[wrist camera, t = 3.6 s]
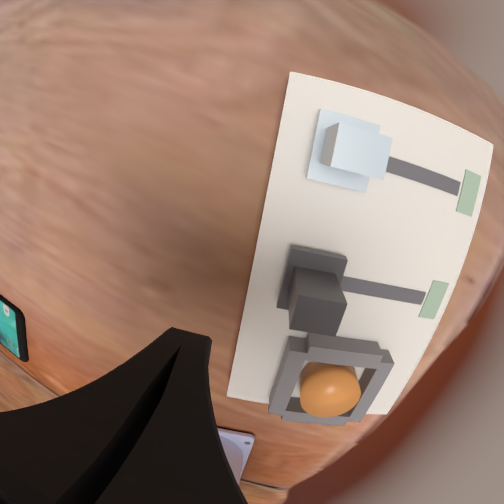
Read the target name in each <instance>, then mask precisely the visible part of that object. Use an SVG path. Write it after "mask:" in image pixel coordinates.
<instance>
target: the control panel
mask: <svg viewBox="0 0 504 504" xmlns="http://www.w3.org/2000/svg"><path fill="white" fill-rule="evenodd" d="M320 109H324V110H328V111H332V112H336V113H339V114H343V115H347V116H350V117H354V118H358V119H361V120H364V121H368V122H371V123H374V124H377V125H380V131H379V134H382V135H385V136H388V137H391V138H393V139H392V144H391V149H390V154H389V159H388V163H387V168H386V173H385V177H384V181H382V180H379V179H375V178H372V177H370V178H369V183H368V187H367V191H366V193H365V192H361V191H357V190H353V189H349V188H345V187H341V186H337V185H333V184H329V183H325V182H321V181H316V180H312V179H307V178H306V173H307V168H308V163H309V158H310V153H311V148H312V143H313V138H314V133H315V128H316V123H317V118H318V113H319V110H320ZM492 152H493V144H491V143H489V142H488V141H486V140H484V139H482V138H480V137H478V136H476V135H474V134H473V133H471V132H469V131H467V130H465V129H463V128H460V127H458V126H456V125H454V124H452V123H450V122H448V121H446V120H443V119H441V118H439V117H436V116H434V115H432V114H429V113H427V112H425V111H422V110H420V109H417V108H415V107H412V106H410V105H407V104H404V103H402V102H399V101H396V100H393V99H390V98H387V97H385V96H382V95H379V94H375V93H372V92H369V91H366V90H363V89H359V88H356V87H353V86H349V85H345V84H342V83H338V82H334V81H330V80H326V79H322V78H318V77H313V76H309V75H304V74H300V73H295V72H290V76H289V81H288V86H287V91H286V97H285V102H284V107H283V112H282V117H281V122H280V128H279V133H278V138H277V143H276V148H275V153H274V159H273V164H272V169H271V174H270V179H269V184H268V189H267V194H266V200H265V205H264V210H263V215H262V220H261V225H260V230H259V235H258V240H257V245H256V250H255V256H254V261H253V266H252V271H251V276H250V281H249V286H248V291H247V296H246V301H245V306H244V311H243V316H242V321H241V326H240V331H239V336H238V341H237V346H236V351H235V356H234V361H233V366H232V371H231V376H230V381H229V386H228V391H227V396H228V397H232V398H238V399H243V400H248V401H254V402H260V403H266V404H269V406H268V413H270V414H276V415H282V416H281V420H286V421H294V422H303V423H312V424H324V425H338V426H344V425H345V424H346V422H361V420H362V418H363V417H364V415H365V414H387V413H388V412H389V410H390V409H391V407H392V406H393V404H394V402H395V401H396V399H397V398H398V396H399V395H400V393H401V391H402V390H403V388H404V387H405V385H406V383H407V382H408V380H409V378H410V377H411V375H412V373H413V371H414V370H415V368H416V366H417V364H418V363H419V361H420V359H421V357H422V355H423V353H424V351H425V350H426V348H427V346H428V344H429V342H430V340H431V338H432V336H433V334H434V332H435V330H436V328H437V326H438V324H439V321H440V319H441V317H442V315H443V313H444V311H445V308H446V306H447V304H448V301H449V299H450V297H451V294H452V292H453V289H454V287H455V285H456V282H457V279H458V277H459V274H460V272H461V269H462V266H463V263H464V261H465V258H466V255H467V252H468V249H469V246H470V243H471V240H472V236H473V233H474V230H475V227H476V223H477V220H478V216H479V212H480V208H481V205H482V201H483V196H484V192H485V188H486V183H487V179H488V174H489V169H490V163H491V158H492ZM290 245H295V246H300V247H305V248H310V249H315V250H319V251H324V252H329V253H334V254H339V255H343V256H346V258H347V260H348V262H347V265H346V268H345V272H344V275H343V278H342V281H341V284H340V286H341V289H342V291H343V294H344V296H345V299H346V301H347V307H346V310H345V313H344V315H343V318H342V321H341V324H340V326H339V329H338V331H337V334H336V337H334V336H327V335H321V334H314V333H308V332H302V331H297V330H291V329H289V312H288V310H285V309H280V308H276V307H277V299H278V295H279V291H280V287H281V283H282V279H283V274H284V270H285V266H286V262H287V258H288V253H289V249H290ZM312 362H320V363H328V364H335V365H344V366H352V367H354V368H355V372H356V375H357V379H358V383H359V386H360V390H361V396H360V399H359V401H358V402H357V404H356V405H355V406H354V407H353V408H352V409H350V410H349V411H347V412H345V413H343V414H341V415H338V416H334V417H316V416H313V415H310V414H308V413H307V412H306V411H304V409H303V408H302V406H301V404H300V385H299V379H300V375H301V373H302V371H303V370H304V369H305V368H306V367H307V366H308V365H309V364H311V363H312Z"/></svg>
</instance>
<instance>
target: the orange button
mask: <svg viewBox="0 0 504 504" xmlns="http://www.w3.org/2000/svg"><path fill="white" fill-rule="evenodd" d="M299 385H300V404H301V406H302V408H303V409H304V411H306V412H307V413H308V414H310V415H313V416H316V417H334V416H338V415H341V414H343V413H345V412H347V411H349V410H350V409H352V408H353V407H354V406H355V405H356V404H357V402H358V401H359V399H360V396H361V390H360V386H359V383H358V379H357V375H356V372H355V368H354V367H352V366H344V365H335V364H328V363H320V362H312V363H311V364H309V365H308V366H307V367H306V368H305V369H304V370H303V371H302V373H301V375H300V379H299Z"/></svg>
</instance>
